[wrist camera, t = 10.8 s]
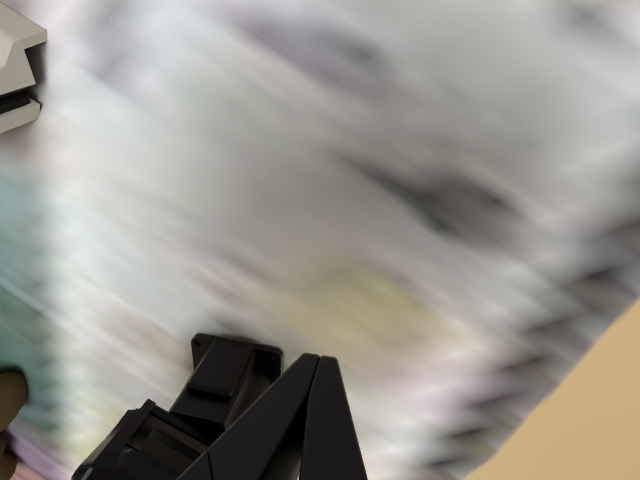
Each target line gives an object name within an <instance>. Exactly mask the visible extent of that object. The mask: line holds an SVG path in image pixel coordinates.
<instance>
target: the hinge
mask: <svg viewBox="0 0 640 480" xmlns="http://www.w3.org/2000/svg"><path fill="white" fill-rule="evenodd" d="M45 41H47V31H46V30H45V29H43V28H42V27H40V26H39V25H37V24H35V23H34V22H32V21H30V20H29V19H27V18H25V17H24V16H22V15H21V14H19V13H17V12H16V11H14V10H12V9H11V8H9V7H7V6H6V5H4V4H2V3H1V2H0V133H2V132H5V131H8V130H10V129H13V128H16V127H18V126H21V125H23V124H26V123H29V122H31V121H34V120H37V118H38V116H39V113H40V104H39V103H37V102H35V101H34V100H32V99H31V98H29V96H27V95H25V94H24V93H22V91H25V90H28V89H27V86H30V85H34V84H36V83H35V80H34V77H33V74H32V71H31V68H30V65H29V63H28V60H27V57H26V54H25V51H24V49H26V48H29V47H32V46H34V45H37V44H40V43H42V42H45Z"/></svg>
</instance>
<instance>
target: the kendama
mask: <svg viewBox="0 0 640 480" xmlns="http://www.w3.org/2000/svg"><path fill="white" fill-rule="evenodd" d="M26 395H27V384H26V381H25V379H24V377H23V376H22V375H20V374H17V373H4V374H0V432H1V431H2V430H4V429H5V428H6V427H7V426H8V425H9V424H10V423H11V421H12V420H13V419H14V418H15V417H16V415H17V414H18V412H19V411H20V409H21V407H22V406H23V404H24V401H25V398H26ZM5 444H6V442H5V440H4V438H3V436H2V435H0V480H10V479H11V477H12V476H13V474H14V473H15V469H16V465H17V461H16V459H15V457H14V455H13V454H11V453H9V452H7V451H5V450H4V448H5Z"/></svg>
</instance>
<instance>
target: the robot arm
mask: <svg viewBox="0 0 640 480" xmlns="http://www.w3.org/2000/svg"><path fill="white" fill-rule="evenodd" d="M191 346H192V354H193V362H194V372H193V374H192V375H191V377H190V378H189V380H188V381H187V383H186V385H185V387H184V388H183V390H182V392H181V393H180V395H179V396H178V398H177V399H176V401H175V402H174V404H173V405H172V407H171V408H170V410H169V412H168V411H166V410H164V409H162V408H160V407H159V406H157V405H156V403H155V402H153V401H152V400H150V399H147V401H146V402H145V403H144V404H143V406H142V407H141V408H140V409H137V408H136V409H135V410H128V411H127V412H126V413H125V415H124V416H123V417H122V419H121V420H120V421H119V423H118V424H117V425H116V427H115V428H114V429H113V430H112V432H111V433H110V434H109V435H108V436H107V437H106V439H105V440H104V441H103V442H102V443H101V444H100V445H99V446H98V447H97V448H96V449H95V450H94V451H93V452H92V453H91V454H90V455H89V456H88V457H87V458H86V459H85V460H84V462H83V463H82V464H81V465H80V466H79V467H78V468H77V470H76V471H75V472H74V474H73V475H72V477H71V480H297V478H298V475H299V480H368V479H367V475H366V471H365V467H364V463H363V459H362V455H361V451H360V447H359V443H358V439H357V435H356V431H355V427H354V423H353V420H352V416H351V412H350V408H349V404H348V400H347V396H346V392H345V388H344V384H343V380H342V376H341V372H340V368H339V364H338V360H337V358H335V357H330V356H321V357H320V356H319V355H317V354H311V353H303V354H302V355H301V356H300V357H299V358H298V359H297V360H296V361H295V362H294V363H293V364H292V365H291V366H290V367H289V368H288V369H287V370H286V371H285V372H284V373H283V374H282V364H283V354H282V352H281V351H280V350H279V349H276V348H270V347H265V346H260V345H254V344H249V343H244V342H238V341H233V340H228V339H222V338H217V337H212V336H206V335H201V334H197V335H195V336H194V337H193V339H192V340H191ZM273 355H274V356H273ZM275 356H276V357H275ZM299 472H300V473H299Z"/></svg>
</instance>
